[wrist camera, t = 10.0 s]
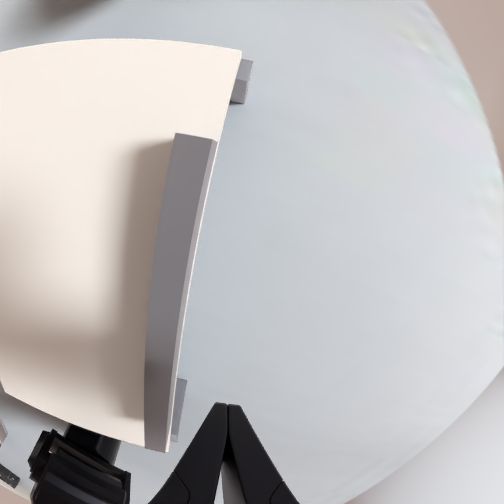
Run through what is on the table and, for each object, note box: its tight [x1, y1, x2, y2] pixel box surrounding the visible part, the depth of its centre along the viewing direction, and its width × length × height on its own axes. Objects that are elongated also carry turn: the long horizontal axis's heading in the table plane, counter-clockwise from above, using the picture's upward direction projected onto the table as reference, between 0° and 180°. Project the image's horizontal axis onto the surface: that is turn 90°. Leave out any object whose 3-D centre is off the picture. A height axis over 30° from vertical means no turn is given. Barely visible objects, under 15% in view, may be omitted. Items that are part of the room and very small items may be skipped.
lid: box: [0, 39, 242, 453], centre depth 12 cm, size 24×14×3 cm, turn 167°
